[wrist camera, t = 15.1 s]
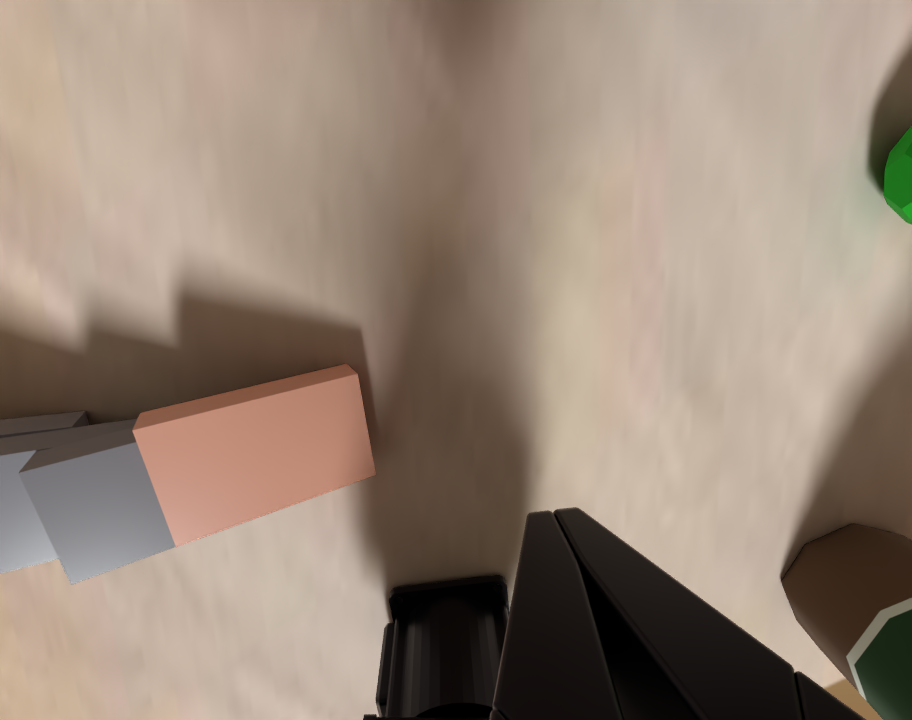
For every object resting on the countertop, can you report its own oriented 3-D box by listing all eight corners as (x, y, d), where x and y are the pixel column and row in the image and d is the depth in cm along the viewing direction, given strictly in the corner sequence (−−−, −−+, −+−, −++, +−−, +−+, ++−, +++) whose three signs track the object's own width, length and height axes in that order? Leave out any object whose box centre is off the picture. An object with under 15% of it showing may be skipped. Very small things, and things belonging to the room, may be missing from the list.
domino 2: (263, 409, 18) (17, 472, 15) (287, 506, 20) (71, 585, 16) (258, 396, 20) (35, 451, 16) (281, 487, 22) (82, 555, 18)
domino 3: (162, 429, 18) (-121, 474, 14) (180, 527, 20) (-73, 592, 16) (165, 414, 20) (-90, 451, 16) (181, 506, 21) (-49, 560, 17)
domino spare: (357, 373, 18) (132, 430, 15) (375, 475, 20) (175, 547, 16) (346, 363, 20) (140, 412, 16) (364, 458, 21) (179, 521, 18)
